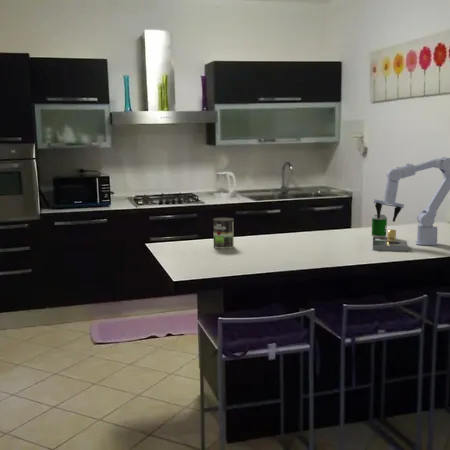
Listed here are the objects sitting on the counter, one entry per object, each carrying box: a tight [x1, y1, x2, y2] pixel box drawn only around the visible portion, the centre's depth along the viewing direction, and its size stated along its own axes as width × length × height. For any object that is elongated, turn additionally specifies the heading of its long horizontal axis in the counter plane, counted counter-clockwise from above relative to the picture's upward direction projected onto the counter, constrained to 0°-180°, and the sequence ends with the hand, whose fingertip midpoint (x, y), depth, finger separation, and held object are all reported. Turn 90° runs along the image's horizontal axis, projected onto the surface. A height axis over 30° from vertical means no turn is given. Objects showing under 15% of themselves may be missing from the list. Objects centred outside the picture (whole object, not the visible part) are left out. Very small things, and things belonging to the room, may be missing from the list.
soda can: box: [371, 214, 388, 240], centre depth 298 cm, size 8×8×12 cm
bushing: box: [386, 229, 397, 241], centre depth 282 cm, size 4×4×7 cm
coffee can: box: [212, 217, 235, 250], centre depth 280 cm, size 10×10×14 cm
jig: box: [372, 236, 409, 252], centre depth 272 cm, size 16×12×4 cm
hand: (386, 220), depth 281 cm, fingers open, 7 cm apart
